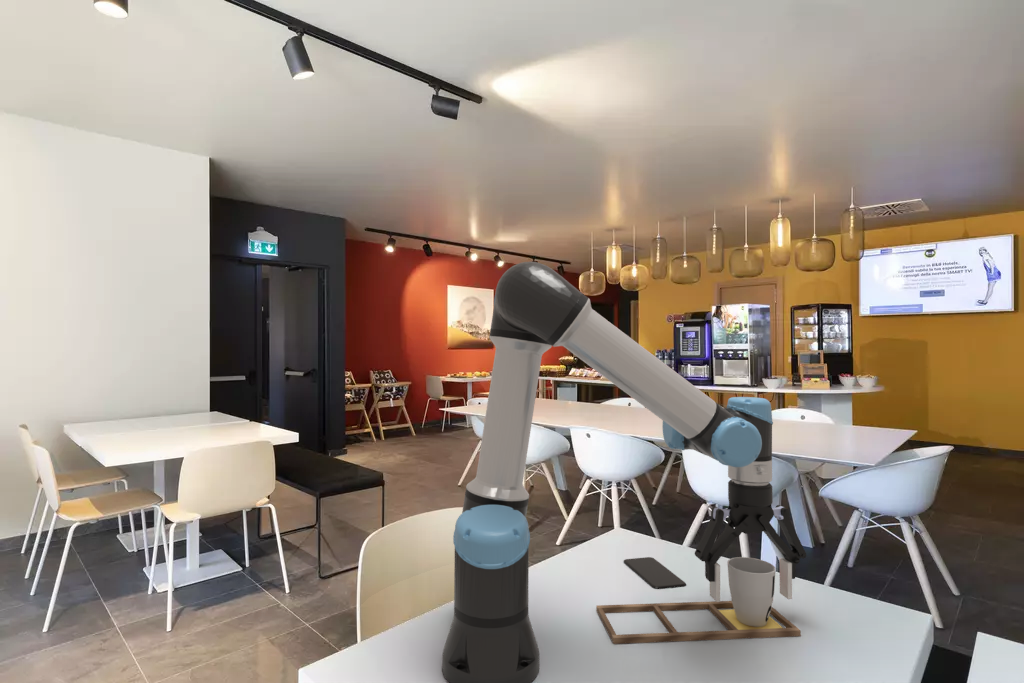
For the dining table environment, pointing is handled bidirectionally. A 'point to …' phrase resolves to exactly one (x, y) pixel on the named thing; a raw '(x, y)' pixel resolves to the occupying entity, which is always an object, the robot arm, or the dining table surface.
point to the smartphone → (654, 573)
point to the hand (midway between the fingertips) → (750, 597)
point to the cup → (751, 589)
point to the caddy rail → (724, 616)
